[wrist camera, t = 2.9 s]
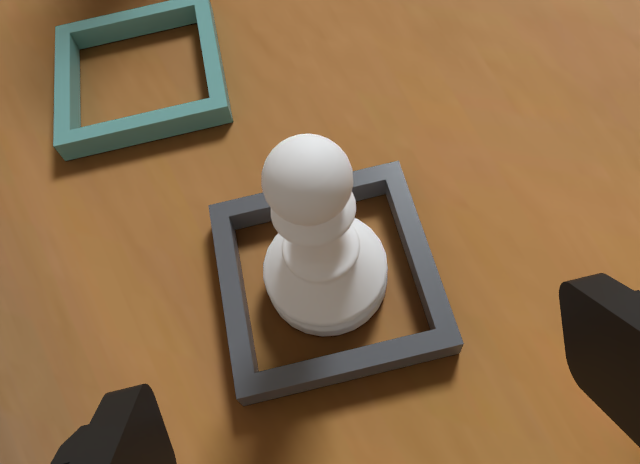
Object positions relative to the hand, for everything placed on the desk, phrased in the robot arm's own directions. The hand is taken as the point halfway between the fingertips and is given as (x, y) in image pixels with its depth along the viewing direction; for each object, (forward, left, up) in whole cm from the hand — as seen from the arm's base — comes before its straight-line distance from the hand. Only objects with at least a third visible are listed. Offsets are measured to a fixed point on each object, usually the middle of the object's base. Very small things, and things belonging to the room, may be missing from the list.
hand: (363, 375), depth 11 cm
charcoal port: (0, -7, -11) cm, 13 cm away
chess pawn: (0, -7, -11) cm, 13 cm away
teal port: (+7, -21, -11) cm, 25 cm away
